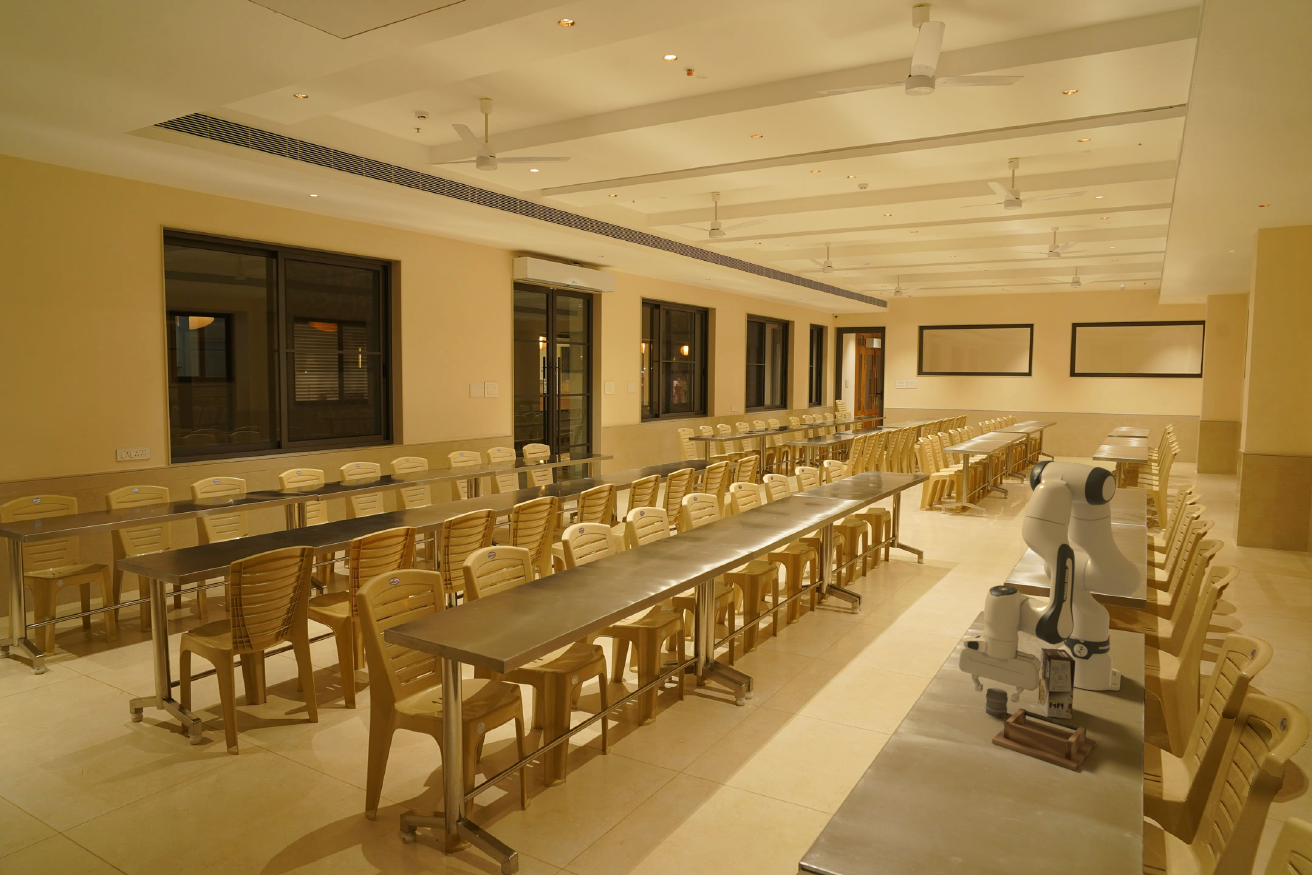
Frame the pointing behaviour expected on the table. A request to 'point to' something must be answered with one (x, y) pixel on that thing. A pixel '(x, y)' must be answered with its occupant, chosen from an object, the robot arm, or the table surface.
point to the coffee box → (1056, 683)
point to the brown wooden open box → (1045, 739)
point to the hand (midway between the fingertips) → (996, 695)
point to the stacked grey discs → (996, 702)
